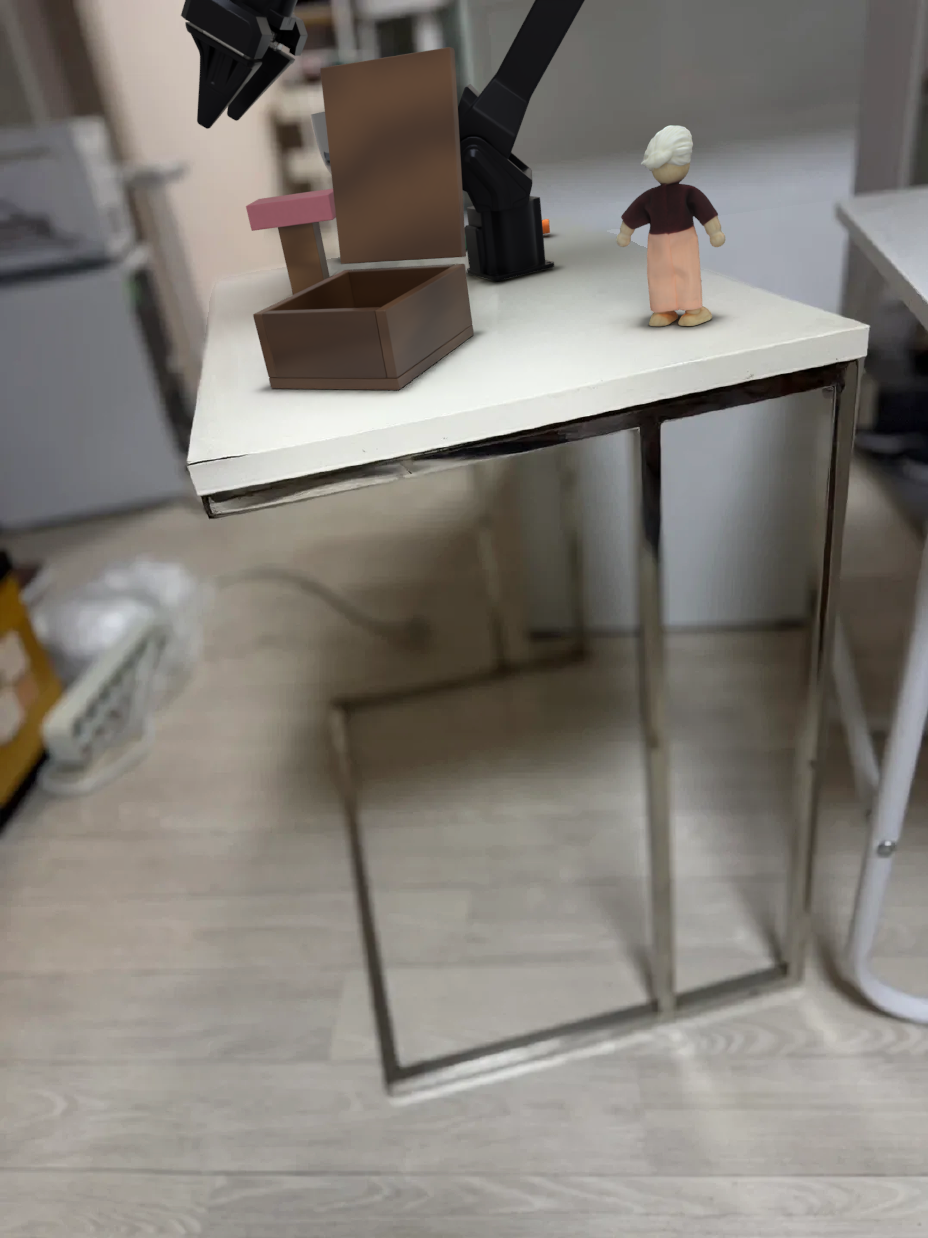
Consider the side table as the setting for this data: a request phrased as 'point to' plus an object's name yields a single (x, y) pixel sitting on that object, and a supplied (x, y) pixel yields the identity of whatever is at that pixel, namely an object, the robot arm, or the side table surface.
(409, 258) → the lid
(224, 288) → the side table surface
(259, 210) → the long pink eraser
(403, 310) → the chest
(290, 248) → the stand
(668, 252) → the grandmother figurine
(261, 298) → the side table surface
